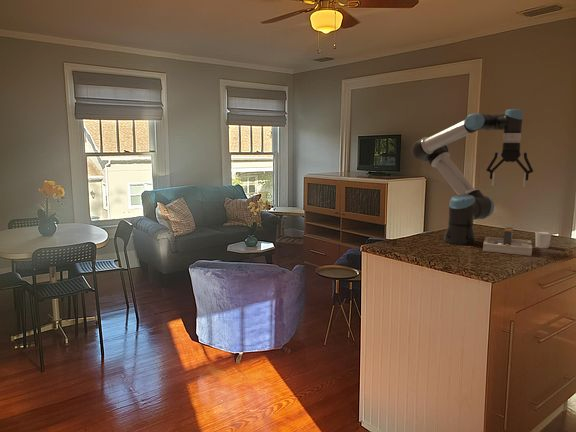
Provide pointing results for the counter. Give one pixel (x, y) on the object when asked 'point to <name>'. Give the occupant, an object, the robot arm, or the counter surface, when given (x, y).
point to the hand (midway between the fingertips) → (508, 186)
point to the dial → (508, 238)
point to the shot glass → (542, 239)
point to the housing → (508, 246)
